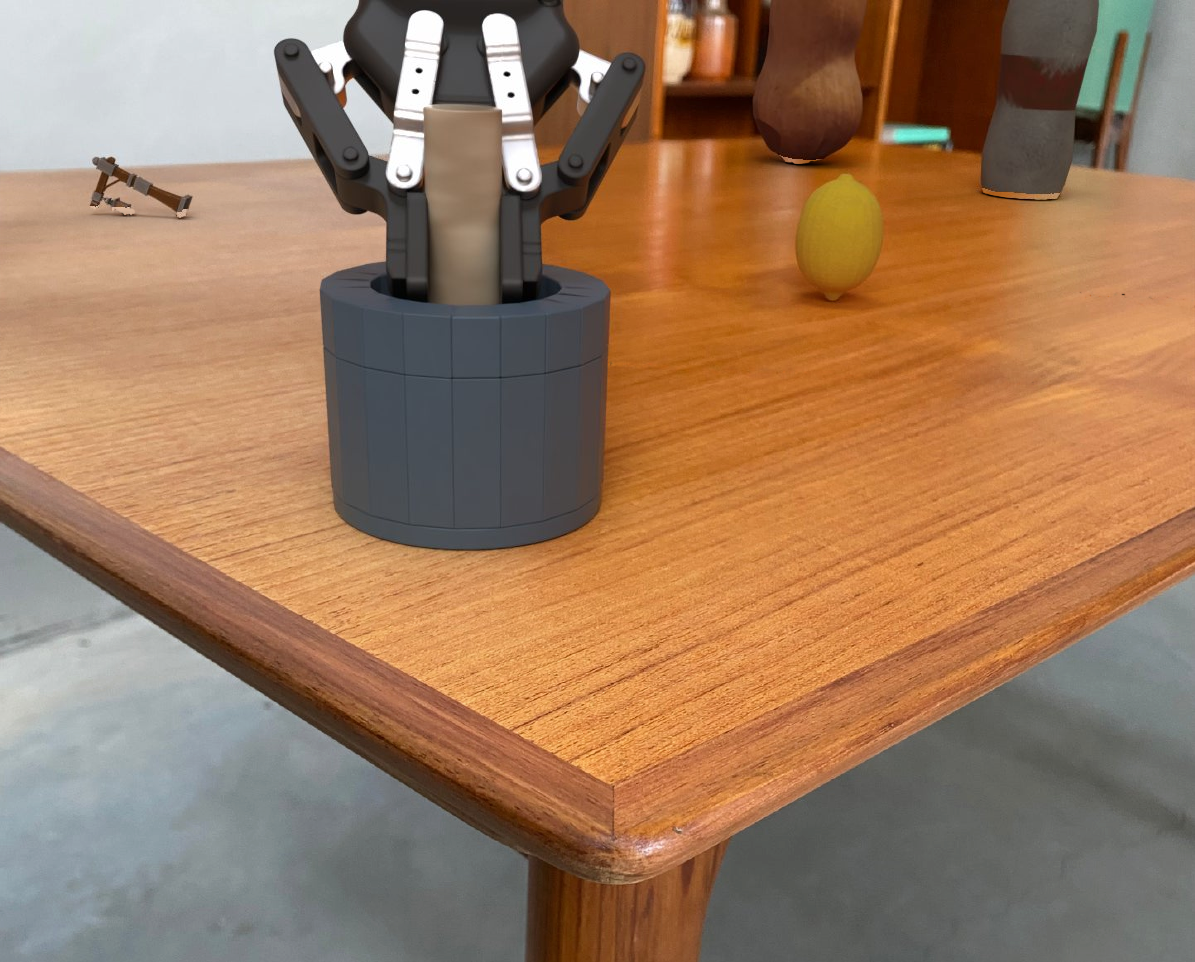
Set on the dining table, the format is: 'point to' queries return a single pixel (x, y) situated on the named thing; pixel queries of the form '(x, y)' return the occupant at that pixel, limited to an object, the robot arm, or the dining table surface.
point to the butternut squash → (810, 78)
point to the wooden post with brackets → (133, 181)
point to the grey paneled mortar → (465, 410)
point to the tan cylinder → (463, 202)
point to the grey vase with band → (1038, 94)
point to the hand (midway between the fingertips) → (465, 304)
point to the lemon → (839, 236)
